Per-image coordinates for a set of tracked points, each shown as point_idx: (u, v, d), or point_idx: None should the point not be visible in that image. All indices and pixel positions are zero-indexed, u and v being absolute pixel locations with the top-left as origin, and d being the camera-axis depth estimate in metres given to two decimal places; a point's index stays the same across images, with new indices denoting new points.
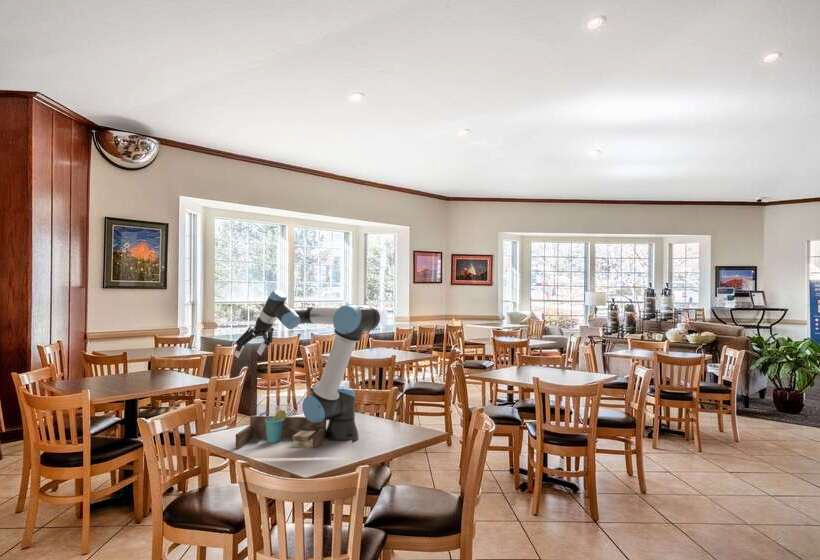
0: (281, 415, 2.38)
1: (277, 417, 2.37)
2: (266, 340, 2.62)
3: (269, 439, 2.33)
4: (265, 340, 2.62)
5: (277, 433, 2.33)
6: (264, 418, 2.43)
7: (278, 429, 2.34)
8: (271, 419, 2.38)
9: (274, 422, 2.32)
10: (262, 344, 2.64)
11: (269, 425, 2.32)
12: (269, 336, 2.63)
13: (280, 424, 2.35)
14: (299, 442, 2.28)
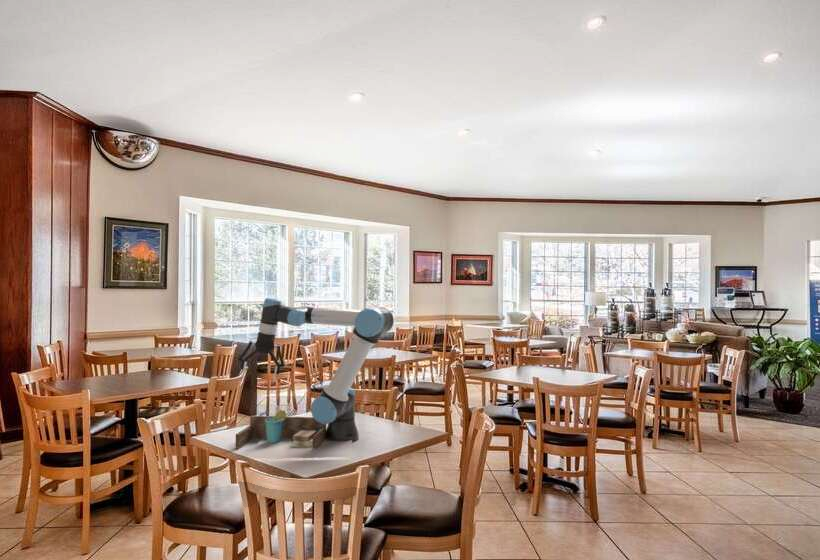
0: (281, 415, 2.38)
1: (277, 417, 2.37)
2: (275, 361, 2.42)
3: (269, 439, 2.33)
4: (274, 361, 2.42)
5: (277, 433, 2.33)
6: (264, 418, 2.43)
7: (278, 429, 2.34)
8: (271, 419, 2.38)
9: (274, 422, 2.32)
10: (275, 369, 2.44)
11: (269, 425, 2.32)
12: (279, 357, 2.43)
13: (280, 424, 2.35)
14: (299, 442, 2.28)
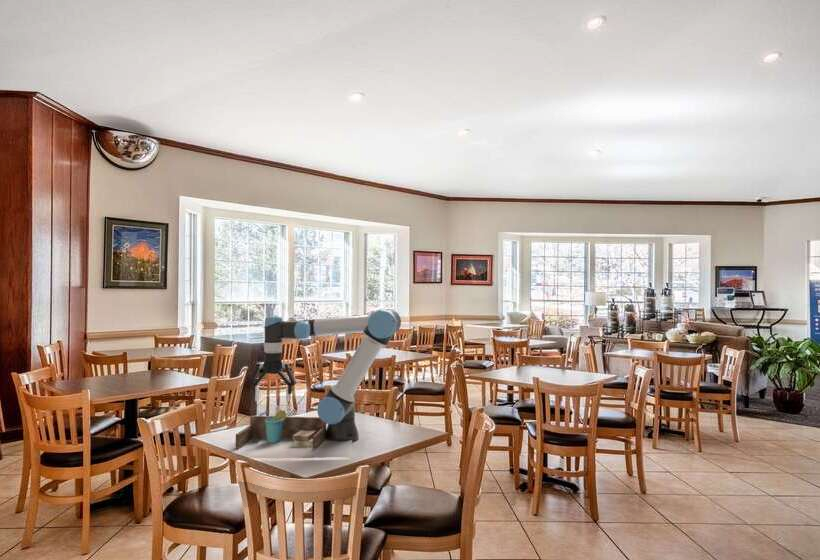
0: (281, 415, 2.38)
1: (277, 417, 2.37)
2: (284, 380, 2.34)
3: (269, 439, 2.33)
4: (284, 380, 2.34)
5: (277, 433, 2.33)
6: (264, 418, 2.43)
7: (278, 429, 2.34)
8: (271, 419, 2.38)
9: (274, 422, 2.32)
10: None
11: (269, 425, 2.32)
12: None
13: (280, 424, 2.35)
14: (299, 442, 2.28)
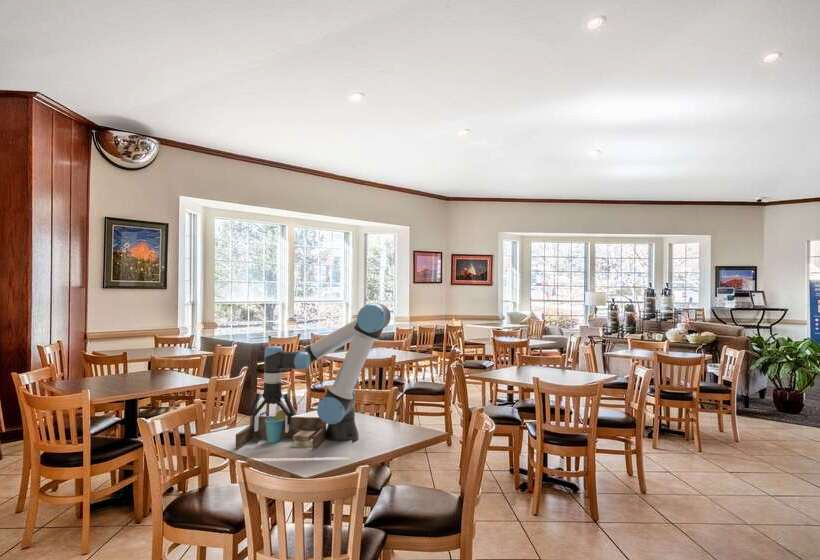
0: (281, 415, 2.38)
1: (277, 417, 2.37)
2: (284, 411, 2.33)
3: (269, 439, 2.33)
4: (283, 411, 2.33)
5: (277, 433, 2.33)
6: (264, 418, 2.43)
7: (278, 429, 2.34)
8: (271, 419, 2.38)
9: (274, 422, 2.32)
10: None
11: (269, 425, 2.32)
12: None
13: (280, 424, 2.35)
14: (299, 442, 2.28)
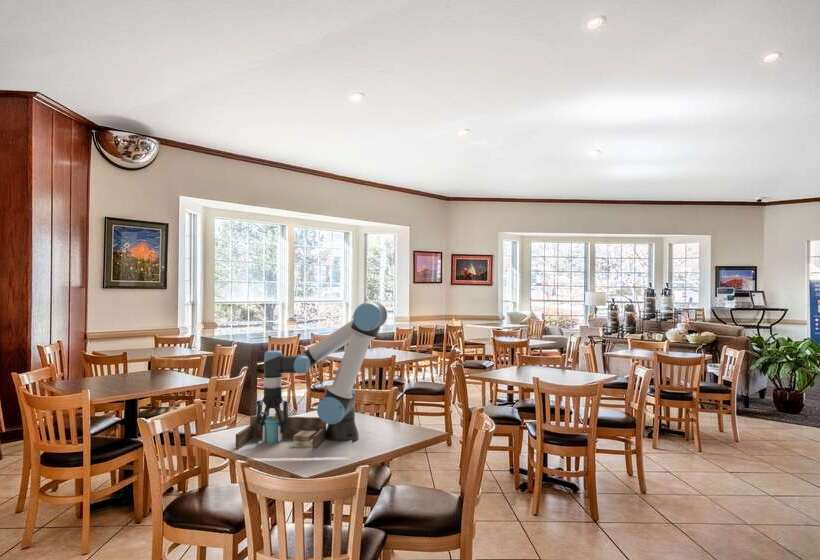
0: None
1: (276, 417, 2.37)
2: (279, 418, 2.33)
3: (268, 439, 2.33)
4: (278, 418, 2.34)
5: (276, 433, 2.33)
6: None
7: (277, 429, 2.34)
8: (270, 419, 2.38)
9: (273, 422, 2.32)
10: None
11: (268, 425, 2.32)
12: None
13: (279, 424, 2.35)
14: (299, 442, 2.28)
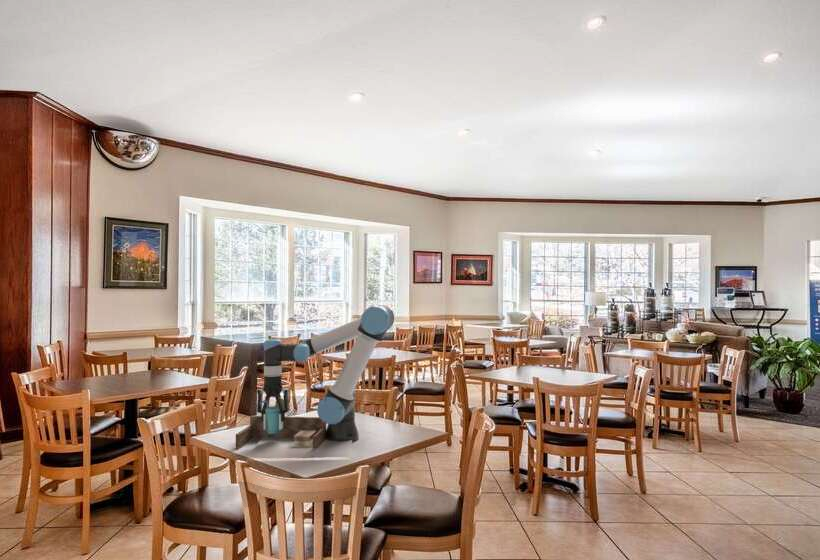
0: None
1: (277, 406, 2.37)
2: (279, 406, 2.33)
3: (269, 427, 2.33)
4: None
5: (277, 421, 2.33)
6: None
7: (278, 417, 2.34)
8: (271, 408, 2.38)
9: (274, 410, 2.32)
10: None
11: (269, 413, 2.33)
12: None
13: None
14: (299, 442, 2.28)
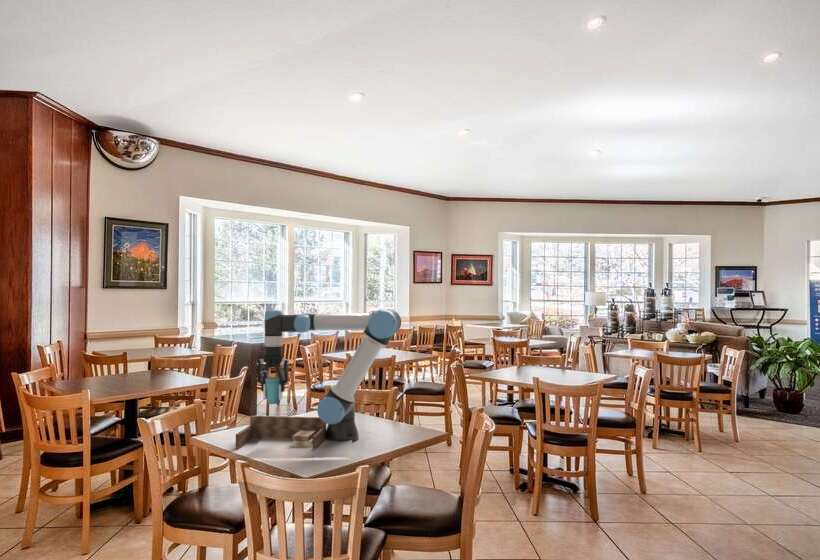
0: None
1: (277, 376, 2.37)
2: (279, 376, 2.34)
3: (269, 397, 2.33)
4: None
5: (277, 392, 2.34)
6: (264, 418, 2.43)
7: (278, 388, 2.34)
8: (271, 378, 2.39)
9: (274, 380, 2.33)
10: None
11: (269, 383, 2.33)
12: None
13: (280, 383, 2.35)
14: (298, 442, 2.28)
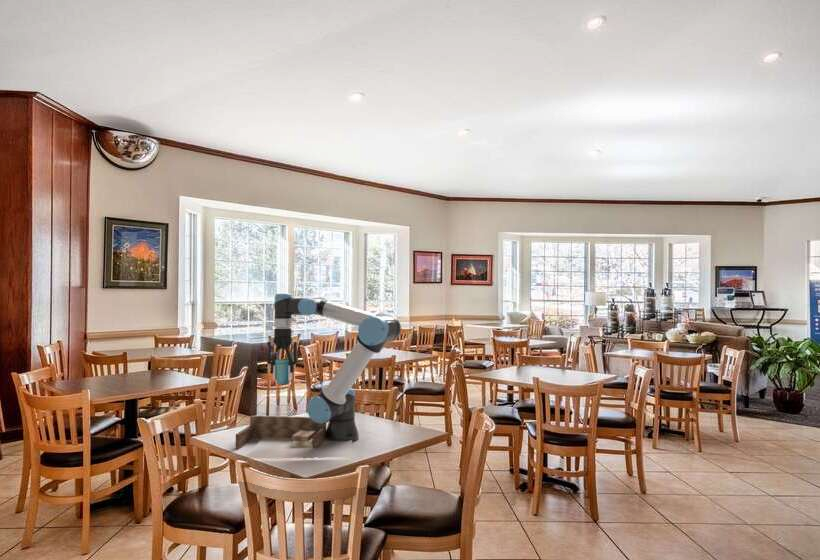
0: None
1: (286, 358, 2.44)
2: (289, 358, 2.41)
3: (279, 378, 2.40)
4: (288, 358, 2.41)
5: (286, 372, 2.41)
6: (264, 418, 2.43)
7: (287, 369, 2.41)
8: (280, 360, 2.46)
9: (284, 361, 2.40)
10: None
11: (279, 364, 2.40)
12: None
13: (289, 364, 2.42)
14: (298, 442, 2.28)
